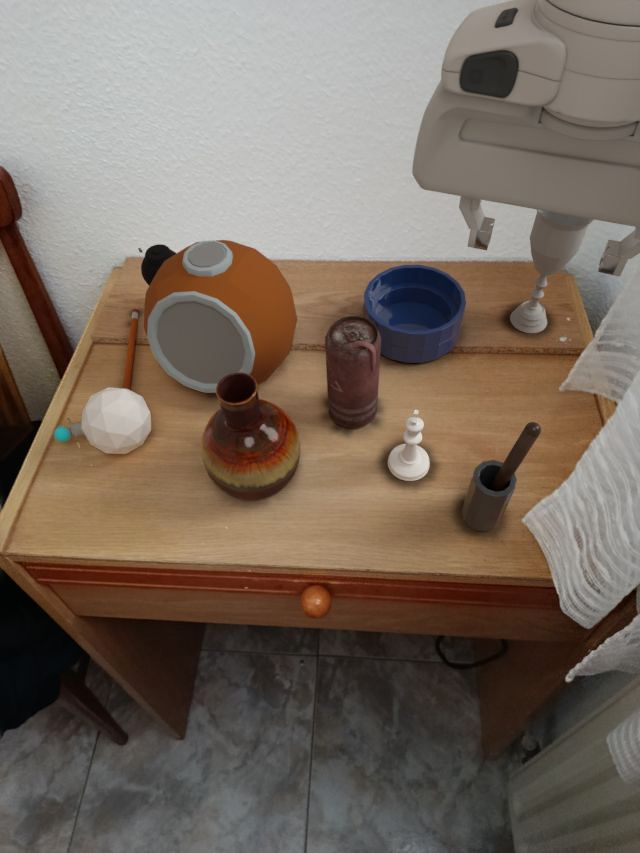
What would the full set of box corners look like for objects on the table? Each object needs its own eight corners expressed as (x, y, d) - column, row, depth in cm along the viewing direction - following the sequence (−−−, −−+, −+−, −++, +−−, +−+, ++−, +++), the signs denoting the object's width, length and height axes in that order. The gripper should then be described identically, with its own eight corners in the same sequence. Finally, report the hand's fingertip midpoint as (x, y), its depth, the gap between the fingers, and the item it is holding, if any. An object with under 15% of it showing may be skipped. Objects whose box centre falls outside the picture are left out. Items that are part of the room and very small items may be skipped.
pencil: (139, 312, 87) (137, 308, 86) (127, 415, 76) (125, 410, 76) (133, 313, 87) (131, 308, 86) (120, 415, 76) (118, 411, 76)
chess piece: (432, 450, 71) (443, 399, 63) (425, 485, 69) (435, 436, 61) (392, 442, 72) (397, 390, 64) (383, 476, 70) (388, 426, 62)
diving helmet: (140, 396, 78) (94, 296, 64) (188, 305, 88) (157, 201, 74) (280, 421, 75) (264, 321, 61) (314, 323, 85) (307, 218, 71)
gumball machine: (204, 295, 89) (189, 239, 81) (190, 323, 86) (173, 267, 78) (162, 289, 90) (143, 233, 82) (147, 317, 87) (126, 261, 79)
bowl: (468, 308, 85) (475, 275, 80) (446, 376, 78) (452, 344, 73) (379, 289, 88) (381, 256, 83) (350, 352, 81) (350, 320, 76)
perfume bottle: (153, 454, 68) (53, 479, 69) (167, 430, 76) (77, 454, 77) (130, 390, 66) (26, 417, 66) (146, 373, 74) (53, 397, 74)
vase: (223, 426, 75) (198, 341, 62) (310, 437, 73) (302, 351, 61) (198, 504, 68) (164, 426, 56) (293, 517, 67) (279, 440, 54)
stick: (488, 510, 66) (544, 422, 53) (485, 520, 65) (542, 433, 52) (475, 505, 66) (529, 416, 53) (473, 516, 66) (526, 428, 52)
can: (360, 439, 73) (362, 363, 61) (318, 415, 75) (313, 337, 64) (387, 407, 75) (394, 328, 64) (347, 384, 78) (346, 305, 66)
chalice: (494, 308, 85) (524, 195, 70) (537, 297, 86) (575, 183, 71) (519, 344, 81) (556, 231, 66) (564, 331, 82) (610, 218, 67)
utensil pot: (503, 504, 67) (519, 466, 60) (496, 536, 65) (512, 501, 58) (466, 493, 68) (478, 455, 61) (457, 525, 66) (469, 489, 59)
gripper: (816, 49, 32) (695, 257, 43) (442, 11, 37) (421, 207, 48) (828, 106, 29) (693, 316, 40) (415, 56, 34) (399, 255, 45)
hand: (542, 256), depth 44 cm, fingers open, 8 cm apart
